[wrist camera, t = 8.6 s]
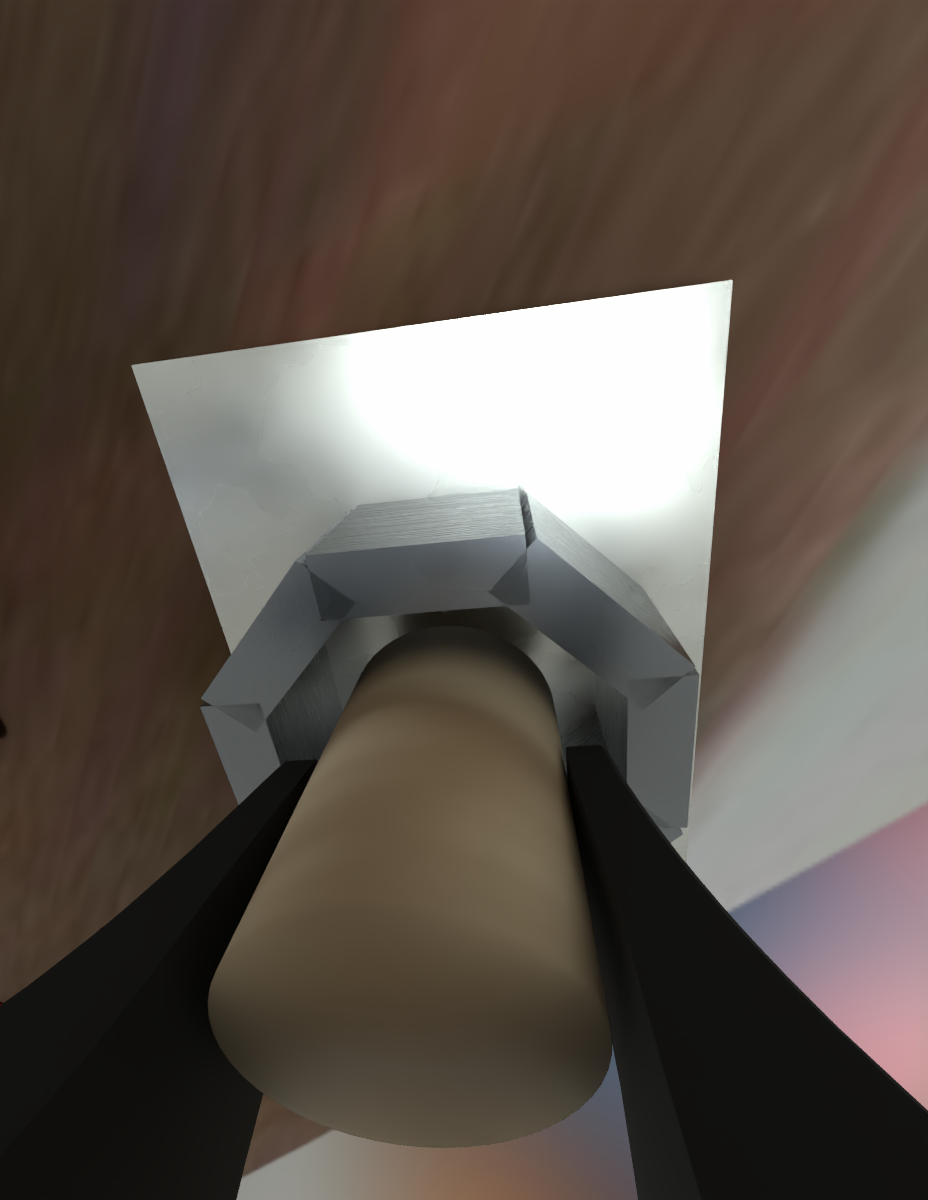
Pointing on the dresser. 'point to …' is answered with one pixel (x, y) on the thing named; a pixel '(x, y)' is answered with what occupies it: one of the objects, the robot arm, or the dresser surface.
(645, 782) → the rosette socket
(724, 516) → the dresser surface
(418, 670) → the tan peg
